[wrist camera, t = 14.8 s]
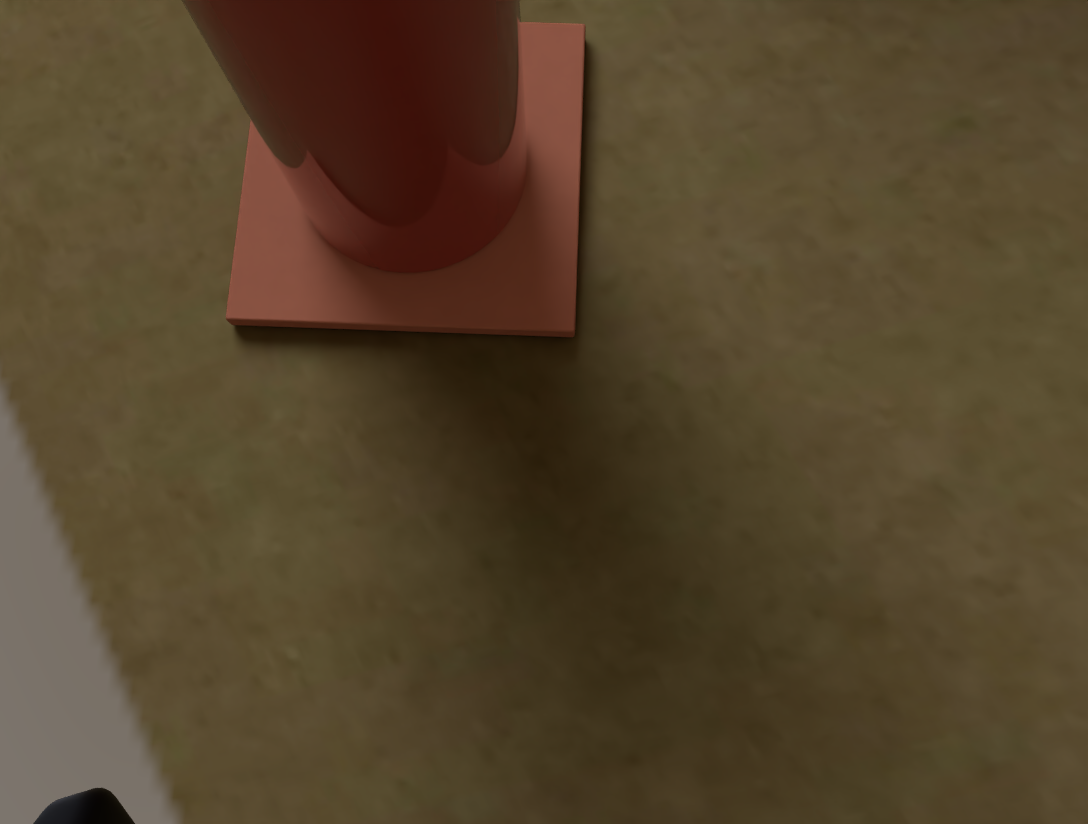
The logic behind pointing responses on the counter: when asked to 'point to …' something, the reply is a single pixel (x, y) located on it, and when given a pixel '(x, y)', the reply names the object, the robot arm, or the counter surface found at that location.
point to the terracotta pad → (446, 293)
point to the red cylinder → (384, 116)
